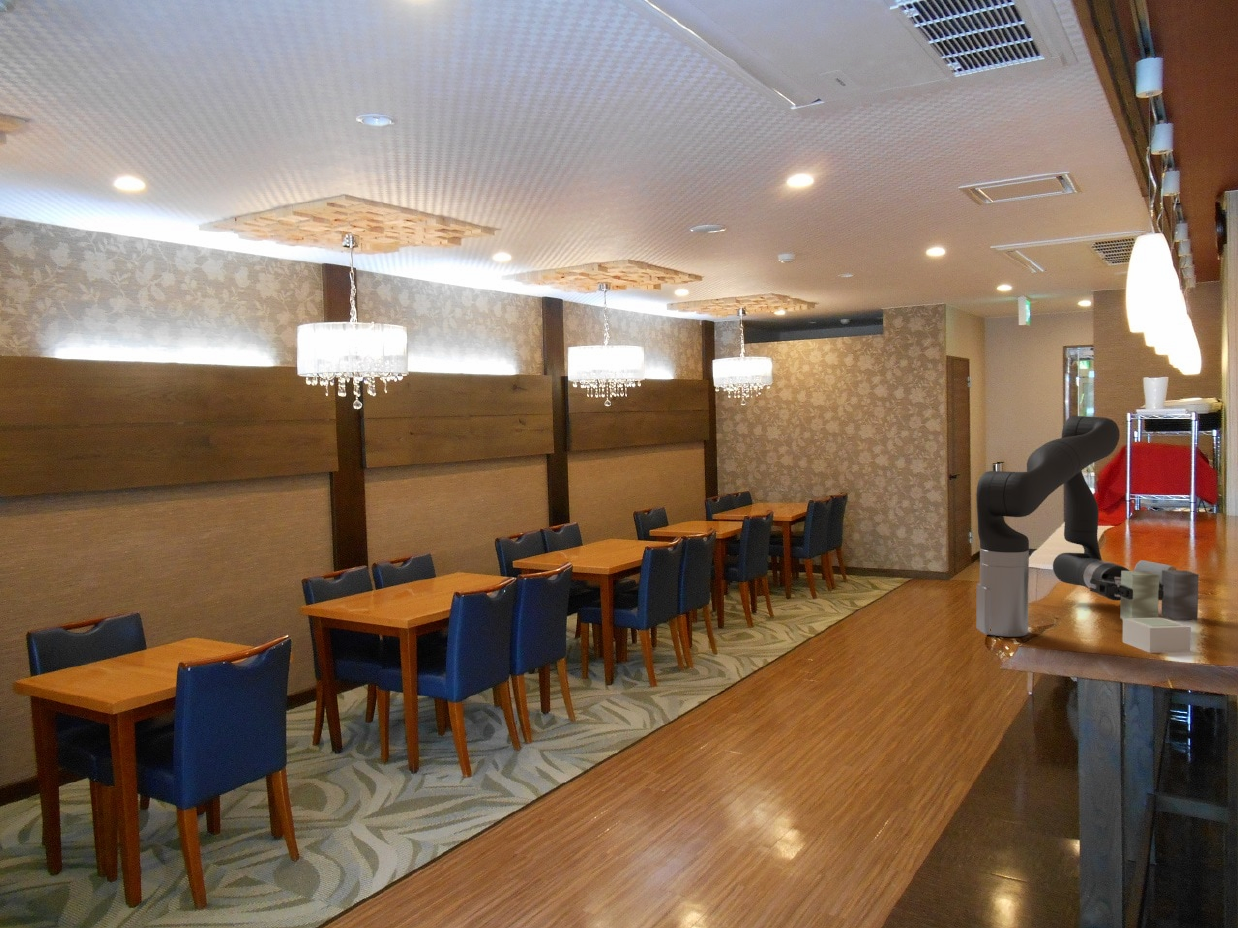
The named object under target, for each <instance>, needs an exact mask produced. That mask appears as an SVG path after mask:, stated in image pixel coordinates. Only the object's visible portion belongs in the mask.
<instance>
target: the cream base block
mask: <svg viewBox="0 0 1238 928" xmlns="http://www.w3.org/2000/svg"><path fill="white" fill-rule="evenodd" d="M1191 636H1192V627H1191V626H1189V625H1186V624H1183V623H1180V622H1177V621H1175V620H1172V619H1169V618H1166V617H1165V618H1164V617H1158V618H1126V619H1123V620H1122V643H1124V644H1126V645H1128V646H1131V647H1134V648H1135V649H1136V648H1137V649H1139V650H1141V651H1144V652H1146V653H1150V654H1151V653H1153V654H1159V653H1186V652H1187V653H1190V652H1191V649H1192V648H1191V644H1192V643H1191V641H1192V637H1191Z"/></svg>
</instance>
